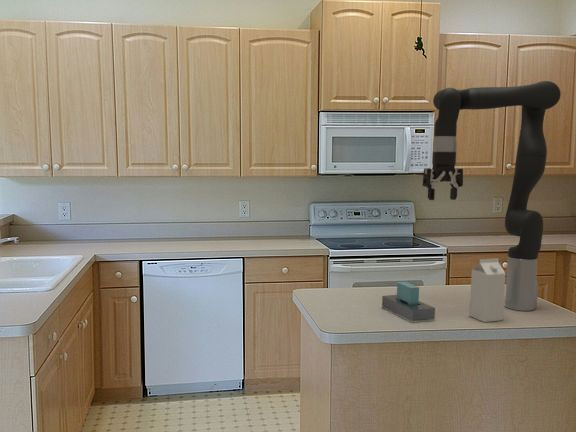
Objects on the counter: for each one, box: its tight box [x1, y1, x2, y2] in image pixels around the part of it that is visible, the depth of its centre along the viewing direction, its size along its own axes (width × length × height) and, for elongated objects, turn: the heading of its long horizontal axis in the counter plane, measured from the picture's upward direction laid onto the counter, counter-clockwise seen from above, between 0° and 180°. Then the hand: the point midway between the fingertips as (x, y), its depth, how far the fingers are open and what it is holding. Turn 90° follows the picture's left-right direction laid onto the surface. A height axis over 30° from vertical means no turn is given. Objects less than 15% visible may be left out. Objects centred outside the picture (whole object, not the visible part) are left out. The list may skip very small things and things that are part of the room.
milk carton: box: [469, 258, 506, 323], centre depth 178 cm, size 7×7×19 cm
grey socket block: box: [381, 294, 436, 324], centre depth 183 cm, size 18×8×4 cm, turn 21°
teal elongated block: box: [396, 281, 420, 306], centre depth 182 cm, size 8×3×9 cm, turn 21°
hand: (442, 199), depth 189 cm, fingers open, 8 cm apart
